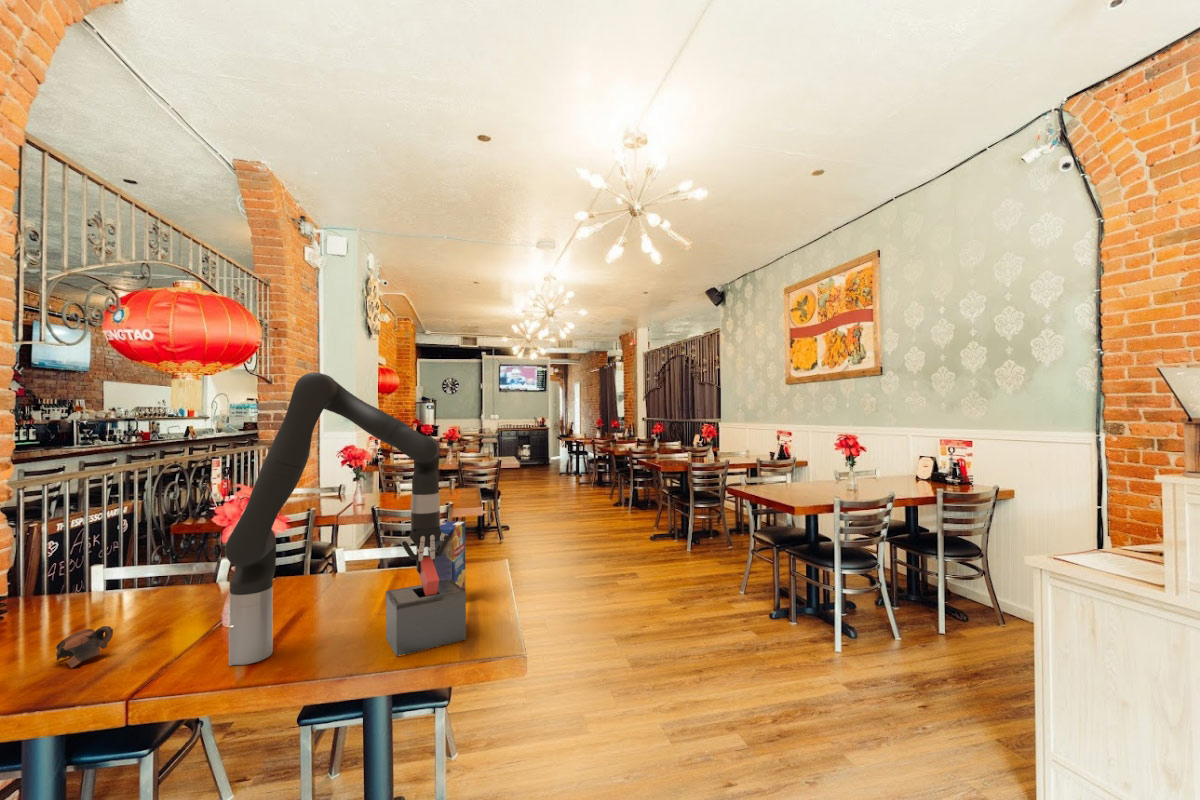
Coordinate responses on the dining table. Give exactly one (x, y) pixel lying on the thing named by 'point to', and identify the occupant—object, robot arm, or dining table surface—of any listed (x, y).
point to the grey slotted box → (425, 617)
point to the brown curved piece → (83, 645)
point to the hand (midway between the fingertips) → (425, 573)
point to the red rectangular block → (429, 576)
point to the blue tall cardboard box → (452, 554)
